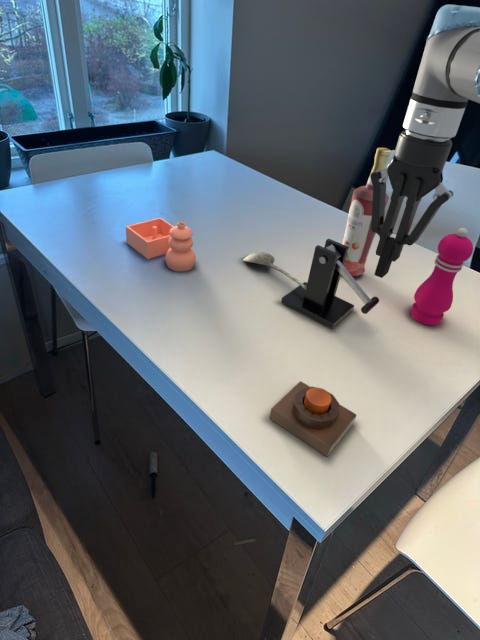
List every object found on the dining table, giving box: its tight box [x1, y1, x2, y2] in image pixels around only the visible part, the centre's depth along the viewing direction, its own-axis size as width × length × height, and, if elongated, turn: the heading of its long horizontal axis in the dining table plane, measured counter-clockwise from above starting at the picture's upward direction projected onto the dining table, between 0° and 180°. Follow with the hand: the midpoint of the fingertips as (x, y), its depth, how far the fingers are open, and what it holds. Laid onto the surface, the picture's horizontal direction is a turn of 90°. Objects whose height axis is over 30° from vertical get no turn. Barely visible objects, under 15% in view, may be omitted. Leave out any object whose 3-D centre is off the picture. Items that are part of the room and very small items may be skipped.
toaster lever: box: [326, 244, 380, 315], centre depth 84 cm, size 14×5×2 cm
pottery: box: [125, 217, 196, 272], centre depth 99 cm, size 18×10×10 cm, turn 42°
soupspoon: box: [242, 251, 306, 291], centre depth 97 cm, size 22×3×7 cm
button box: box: [269, 381, 357, 457], centre depth 66 cm, size 10×8×4 cm
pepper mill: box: [409, 227, 474, 326], centre depth 87 cm, size 7×7×20 cm
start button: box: [304, 387, 331, 414], centre depth 64 cm, size 4×4×2 cm
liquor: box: [342, 147, 392, 278], centre depth 96 cm, size 7×7×28 cm
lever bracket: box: [280, 238, 355, 330], centre depth 87 cm, size 12×9×14 cm
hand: (381, 273), depth 79 cm, fingers closed
